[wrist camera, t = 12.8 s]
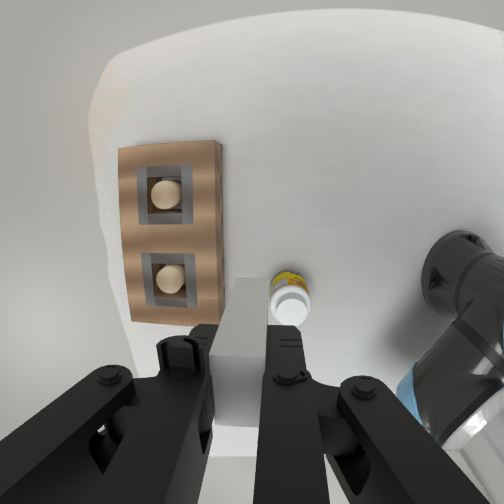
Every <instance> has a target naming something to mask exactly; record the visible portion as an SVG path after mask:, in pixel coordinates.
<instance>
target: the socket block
mask: <svg viewBox="0 0 504 504" xmlns="http://www.w3.org/2000/svg"><path fill="white" fill-rule="evenodd" d="M175 176H181V184H182V209H160V208H158V207H156V206H155V205H154V203H153V202H152V199H151V191H152V189H153V187H154V186H155V185H156V184H157V183H158V182H161V181H162V177H175ZM118 183H119V208H120V225H121V238H122V250H123V260H124V270H125V278H126V286H127V294H128V301H129V308H130V315H131V321H133V322H144V323H155V324H167V325H180V326H195V327H196V326H197V325H199V324H200V323H201V324H220V321H221V319H222V316H223V313H224V310H225V291H224V255H223V197H222V145H221V144H220V143H218V142H217V141H215V140H210V141H191V142H176V143H163V144H152V145H142V146H133V147H125V148H118ZM166 264H185V279H186V284H183V285H182V286H181V288H180V289H179V290H178V291H177V292H175V293H166V292H163V291H162V290H161V289H160V288H159V287H158V285H157V281H156V277H157V274H158V272H159V271H160V270H161V269H163V268H164V267H165V266H166Z"/></svg>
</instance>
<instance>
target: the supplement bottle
mask: <svg viewBox="0 0 504 504" xmlns="http://www.w3.org/2000/svg"><path fill="white" fill-rule="evenodd" d="M310 309H311V299H310V296H309V292H308V289H307V286H306V283H305V280H304V279H303V277H302V276H301V275H300V274H299V273H297V272H294V271H290V270H288V271H282V272H280V273H278V274H277V275H276V276H275V277H274V278H273V280H272V282H271V285H270V310H271V313H272V315H273V316H274V318H275V319H276V320H278V321H279V322H280V323H281V324H283V325H294V326H297V325H299V324H301V323H302V322H303V321H304V320H305V318H306V317H307V316H308V314H309V312H310Z"/></svg>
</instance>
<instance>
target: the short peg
mask: <svg viewBox="0 0 504 504" xmlns="http://www.w3.org/2000/svg"><path fill="white" fill-rule="evenodd" d="M156 281H157V285H158V287H159V288H160V289H161V290H162V291H163V292H166V293H175V292H177V291H178V290H179V289H180V288H181V286H182V285H183V284H184V283H185V282H186V279H185V264H167V265H166V266H165V267H164V268H163V269H161V270H160V271H159V272H158V274H157V277H156Z"/></svg>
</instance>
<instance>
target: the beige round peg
mask: <svg viewBox="0 0 504 504" xmlns="http://www.w3.org/2000/svg"><path fill="white" fill-rule="evenodd" d="M151 199H152V202H153V203H154V205H155V206H156V207H158V208H160V209H168V208H171V207H174V206H178V205H181V204H182V184H181V181H179V180H173V181H161V182H158V183H157V184H156V185H155V186H154V187H153V189H152V191H151Z"/></svg>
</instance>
